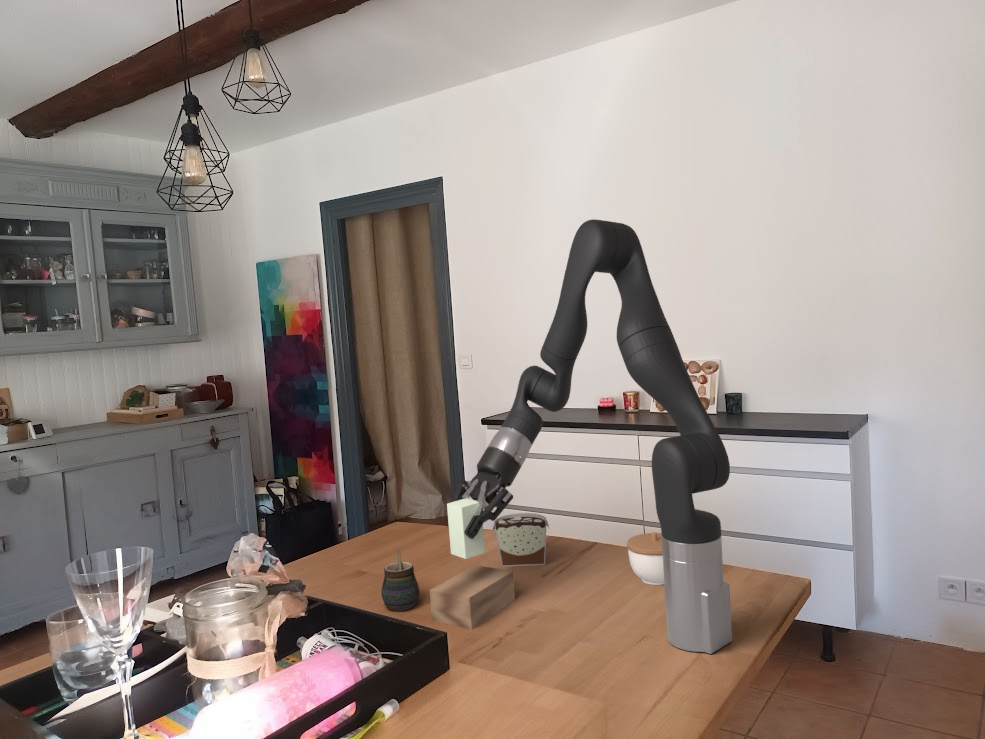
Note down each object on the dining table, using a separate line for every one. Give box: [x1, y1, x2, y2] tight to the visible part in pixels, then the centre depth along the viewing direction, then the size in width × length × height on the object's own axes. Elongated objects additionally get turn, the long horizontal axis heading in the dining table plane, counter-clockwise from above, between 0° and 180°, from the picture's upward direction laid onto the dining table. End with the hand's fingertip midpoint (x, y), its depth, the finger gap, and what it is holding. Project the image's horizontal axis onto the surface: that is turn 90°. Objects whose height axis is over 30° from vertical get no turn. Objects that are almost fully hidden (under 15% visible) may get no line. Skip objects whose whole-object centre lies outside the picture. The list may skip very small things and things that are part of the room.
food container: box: [491, 512, 550, 567], centre depth 162 cm, size 12×6×10 cm, turn 84°
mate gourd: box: [380, 549, 421, 612], centre depth 142 cm, size 7×8×10 cm
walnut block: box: [429, 564, 516, 631], centre depth 137 cm, size 9×14×6 cm, turn 145°
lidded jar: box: [626, 531, 664, 586], centre depth 146 cm, size 11×11×9 cm
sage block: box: [446, 498, 486, 560], centre depth 136 cm, size 4×4×10 cm
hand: (460, 533), depth 135 cm, fingers closed on sage block, 4 cm apart
